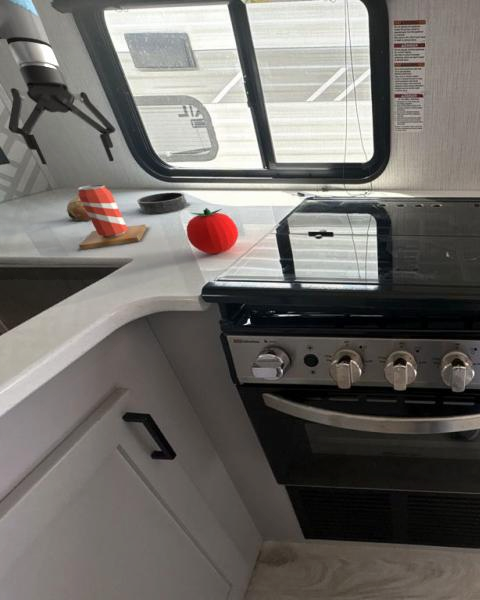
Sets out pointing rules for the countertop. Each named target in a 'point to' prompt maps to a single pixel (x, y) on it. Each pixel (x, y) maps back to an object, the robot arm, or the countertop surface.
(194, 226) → the tomato
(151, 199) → the pan
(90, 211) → the beverage can
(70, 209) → the bread roll
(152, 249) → the countertop surface
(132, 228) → the board
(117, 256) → the countertop surface
